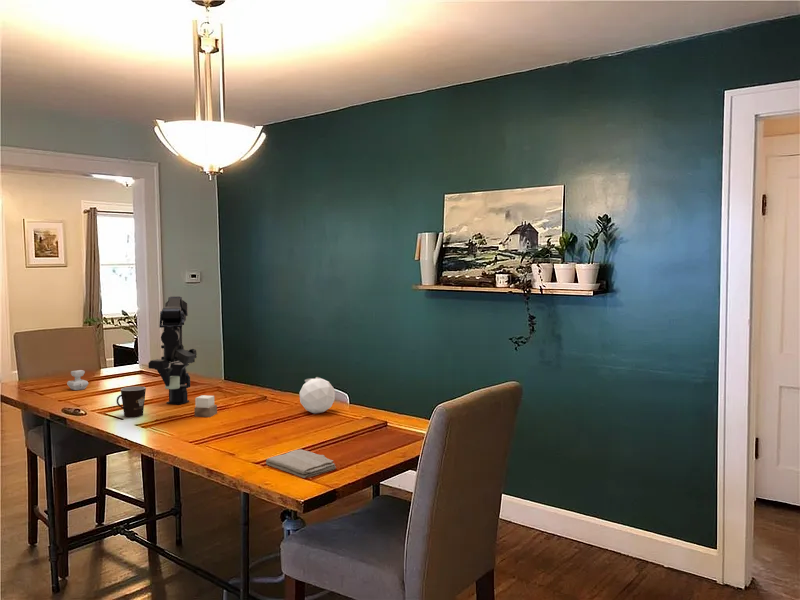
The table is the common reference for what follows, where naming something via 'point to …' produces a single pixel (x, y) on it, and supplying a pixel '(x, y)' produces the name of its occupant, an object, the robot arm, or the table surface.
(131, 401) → the coffee mug
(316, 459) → the washcloth
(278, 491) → the table surface
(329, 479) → the table surface
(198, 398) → the tower top block
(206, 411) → the tower base block
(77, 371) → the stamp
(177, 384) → the grey domed cylinder
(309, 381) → the geodesic sphere
